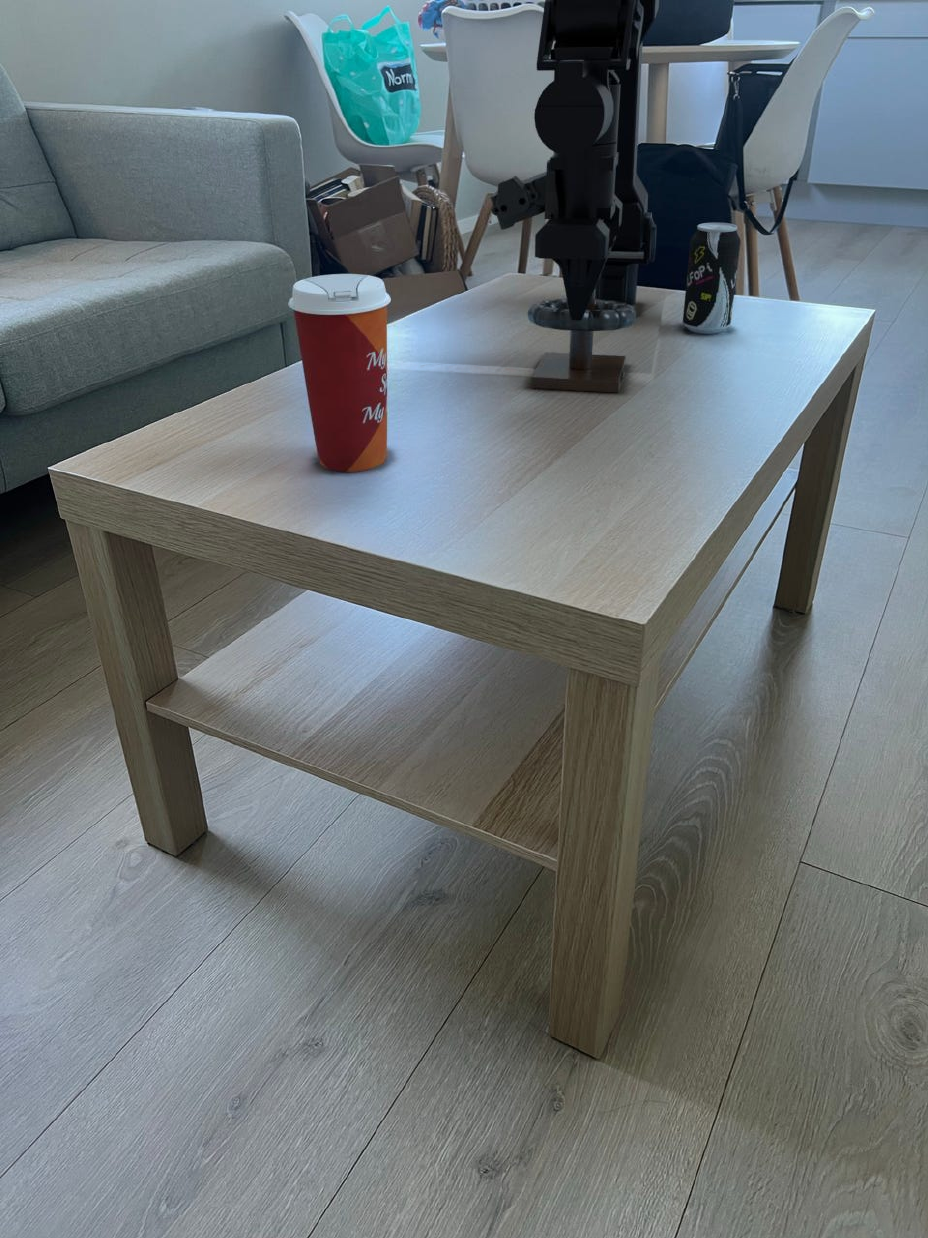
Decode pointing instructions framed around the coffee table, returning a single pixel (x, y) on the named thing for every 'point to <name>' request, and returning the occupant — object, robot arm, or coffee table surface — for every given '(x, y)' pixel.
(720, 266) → the beverage can
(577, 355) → the peg stand
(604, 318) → the ring
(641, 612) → the coffee table surface
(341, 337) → the coffee cup
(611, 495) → the coffee table surface
